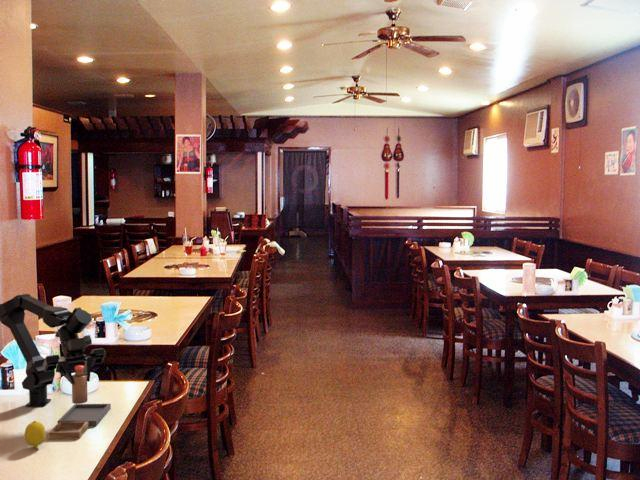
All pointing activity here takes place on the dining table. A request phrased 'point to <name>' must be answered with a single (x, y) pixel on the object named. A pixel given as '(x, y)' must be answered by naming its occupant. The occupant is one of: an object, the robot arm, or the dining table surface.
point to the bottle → (79, 385)
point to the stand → (69, 425)
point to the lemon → (35, 434)
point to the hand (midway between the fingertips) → (80, 382)
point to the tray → (86, 413)
